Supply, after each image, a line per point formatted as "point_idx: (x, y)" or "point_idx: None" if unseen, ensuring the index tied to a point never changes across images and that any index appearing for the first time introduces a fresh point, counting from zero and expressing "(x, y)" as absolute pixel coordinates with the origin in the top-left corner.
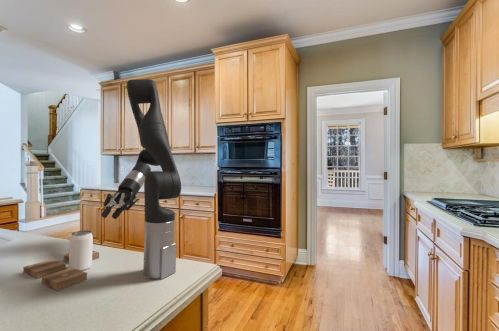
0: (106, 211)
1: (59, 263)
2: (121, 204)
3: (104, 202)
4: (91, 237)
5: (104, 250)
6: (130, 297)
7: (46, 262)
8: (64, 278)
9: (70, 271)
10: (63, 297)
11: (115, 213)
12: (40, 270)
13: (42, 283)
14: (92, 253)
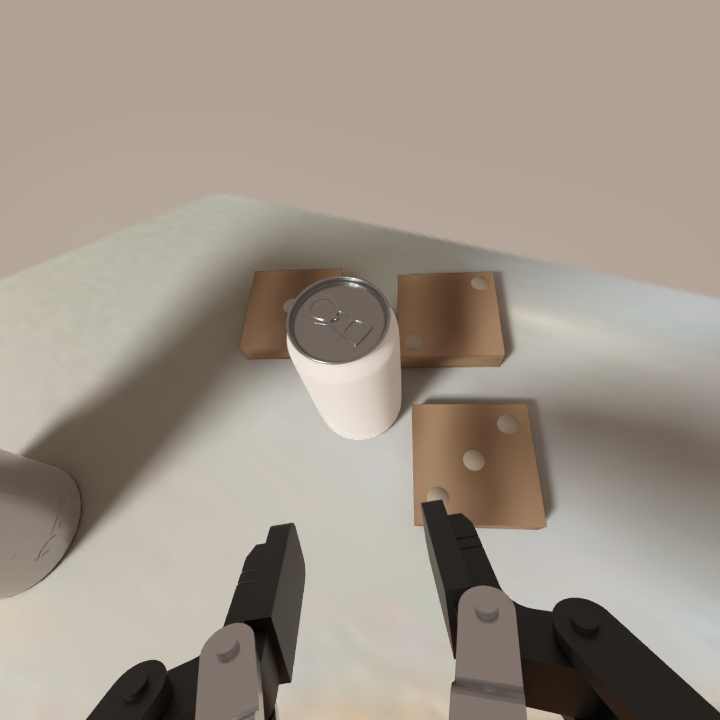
0: (433, 558)
1: (417, 343)
2: (205, 697)
3: (636, 649)
4: (291, 359)
5: None
6: (40, 354)
7: (476, 326)
8: (267, 293)
9: None
10: (212, 277)
11: (264, 559)
12: (404, 285)
13: None
14: (428, 491)
